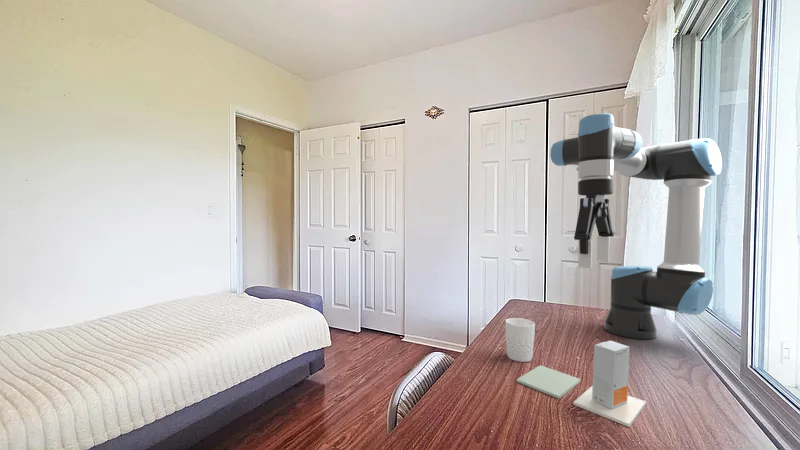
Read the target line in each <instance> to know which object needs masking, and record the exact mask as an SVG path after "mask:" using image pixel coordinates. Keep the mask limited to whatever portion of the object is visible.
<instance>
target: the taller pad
mask: <svg viewBox="0 0 800 450" xmlns="http://www.w3.org/2000/svg"><path fill="white" fill-rule="evenodd" d="M592 387H593V384H592V385H591V386H590V387H589V388H588V389H587V390H586V391H584V392H583V393H582V394H581V395H579V397H578V398H576V399H575V400H574V401H573V405H574V406H576V407H578V408H581V409H584V410H586V411H588V412H591V413H594V414H595V415H598V416H601V417H603V418H606V419H608V420H610V421H613V422H616V423H619V424H620V425H623V426H626V427H628V428H630V427H631V426H632V424H633V423H634V422H635V420H636V419H637V417H638V416H639V415H640V413H641V412H642V410H643V409H644V408H645V407H646V405H647V402H646V401H645V400H643V399H640V398H637V397H634V396H631V395H628V398H627V403H624V404H621V405H619V406H617V407H614V408H612V409H610V408H608V407H606V406H604V405H602V404H600V403H598V402H596V401H594V400H592Z"/></svg>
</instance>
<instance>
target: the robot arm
mask: <svg viewBox="0 0 800 450" xmlns="http://www.w3.org/2000/svg"><path fill="white" fill-rule="evenodd" d="M614 118H615V117H614V116H613V114H611V113H606V112H605V113H604V112H601V113H600V112H599V113H593V114H590V115H586V116H583V117H582V118H581V119H580V120H579V123H578V133H577V136H576V137H572V138H571V137H570V138H564V139H561V140H558V141H556V142H554V143H553V144H552V145H551V148H550V154H549V157H550V160H551V162H552V163H553V164H554V165H555V166H557V167H561V166H565V167H566V166H570V165H571V166H572V165H573V166H578V167H576V171H577V172H578V179H579V181H578V183H577V189H578V190H577V193H578V195H579V196H584V197H583V198H582V197H581V198H579V211H578V216H577V220H576V221H577V222H576V227H575V231H574V232H575V233H574V236H573V239H574V240H575V241H578V261H577V262H578V263H577V264H578V268H581V269H593V240H591V238H592V234H593V231H594V227H595V226H596V229H597V234H598V236H597V237H596V238H597V239H596V241H597V243H596V246H597V247H596V258H597V259H596V260H597V262H603V263H605V262H606V263H609V262H610V253H611V252H610V248H611V247H610V245H611V240H610V239H611V237H612V238H613V237H614V231H613V226H612V220H611V210H610V199H609V198H605V196H608V195H612V194H614V180H613V179H612V177H614V176H615V175H614V172H617V173H619V174H620V175H622V176H624V177H630V178H636V179H642V180H649V181H650V180H652V181H658V180H663V185H664V186H666V187H667V188H668V199H667V212H666V223H665V224H666V225H665V226H666V227H665V237H664V238H665V239H664V250H663V251H664V252H663V261H662V262H661V263H660V264H659V265H657V266H656V271H653V267H652V266H648V265H627V266H626V265H625V266H616V267H614V268H613V269H612V270H611V277H610V308H609V309H608V313H607V315H606V318H605V320H604V324H603V325H604V330H606V331H607V332H609V333H611V334H614V335H618V336H620V337H625V338H629V339H630V338H631V339H636V340H653V339H656V338H657V336H658V335H657V334H658V333H657V332H658V331H657V327H656V324H655V322H654V319H653V315H652V308H657V309H660V310H664V311H665V310H666V311H670V312H671V311H672V312H676V313H679V314H685V315H686V314H687V315H692V316H697V315H701V314H702V313H704V312H705V311H706V309H707V308H708V307H709V305H710V303H711V301H712V297H713V293H714V286H713V285H714V283H713V281H712V279H710V278H709V277H706V271H705V270H704V269H703V268H702V267H701V266H700V255H701V244H702V243H701V241H702V229H703V228H702V227H703V215H704V214H703V213H704V202H705V200H704V199H705V189H706V187H708V186H710V185H711V184H712V182H713V177H716V176H718V175H720V174H721V173H722V169H723V158H722V154H721V152H720V151H721V150H720V149H719V146H718V144H717V143H716V141H714V140H713V139H711V138H707V137H705V138H695V139H694V138H693V139H688V140H682V141H677V142H670V143H663V144H656V145H652V146H651V145H650V146H646V147H643V138H642V136H641V135H640V134H639V133H638V132H637V131H634V130H632V129H630V128H623V127H622V128H621V127H617V126H615V119H614Z"/></svg>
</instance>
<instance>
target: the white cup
mask: <svg viewBox="0 0 800 450" xmlns="http://www.w3.org/2000/svg"><path fill="white" fill-rule="evenodd" d="M535 330H536V323H535V322H534V321H533V320H530V319H526V318H521V317H510V318H506V319H505V342H506V343H505V345H506V355H507V358H509V359H510V360H512V361H516V362H522V363H526V362H527V363H528V362H531V361H532V360H533V350H534V345H535V344H534V343H535V333H536V331H535Z"/></svg>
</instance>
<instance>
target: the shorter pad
mask: <svg viewBox="0 0 800 450" xmlns="http://www.w3.org/2000/svg"><path fill="white" fill-rule="evenodd" d="M516 382H517V383H519V384H522V385H524V386H527V387H529V388H531V389H533V390H536V391H538V392H541V393H544V394H546V395H548V396H551V397H553V398H556V399H558V400H560V399H561V398H562V397H564V396H565V395H566V394H567V393H568V392H570V391H571V390H573V389H574V387H576V386H577V385H579V384H580V383H581V382H582V381H581V378H579V377H575V376H572V375H570V374H568V373H564V372H561V371H558V370H555V369H552V368H549V367H546V366H543V365H541V364H540V365H538V366H537V367H535V368H533V369H532V370H530V371H528V372H527V373H525V374H523V375H521V376H520V377H518V378H517V379H516Z"/></svg>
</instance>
